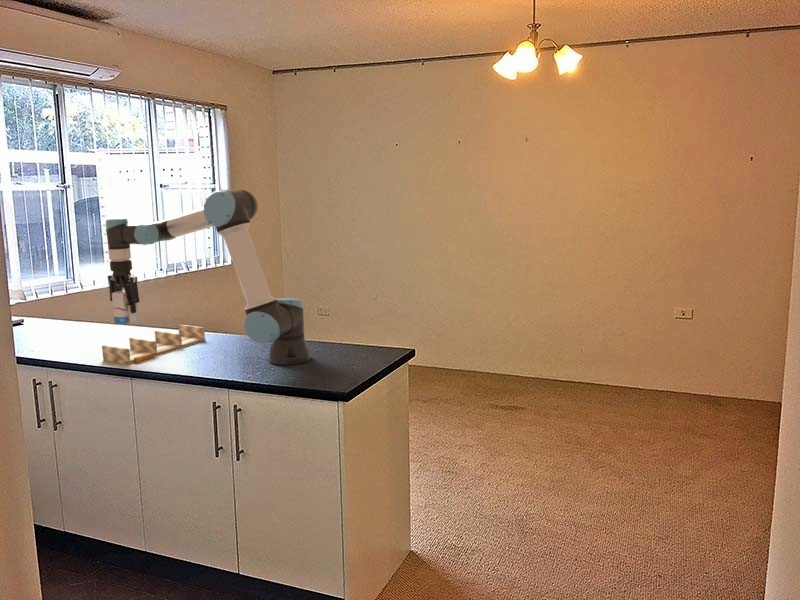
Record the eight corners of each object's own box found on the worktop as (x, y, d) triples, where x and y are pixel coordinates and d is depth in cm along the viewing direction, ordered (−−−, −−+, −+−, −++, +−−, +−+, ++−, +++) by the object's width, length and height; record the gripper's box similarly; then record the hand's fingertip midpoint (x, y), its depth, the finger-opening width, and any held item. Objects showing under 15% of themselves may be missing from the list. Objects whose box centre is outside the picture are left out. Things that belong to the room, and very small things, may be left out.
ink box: (126, 324, 250) (122, 292, 248) (114, 324, 251) (110, 293, 249) (139, 319, 258) (136, 288, 256) (128, 319, 259) (124, 289, 257)
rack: (208, 341, 280) (206, 327, 279) (131, 365, 247) (129, 350, 246) (181, 337, 288) (180, 324, 287) (103, 360, 255) (101, 345, 254)
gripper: (146, 259, 249) (152, 320, 253) (112, 257, 258) (118, 316, 262) (129, 262, 242) (135, 324, 247) (95, 260, 252) (101, 320, 256)
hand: (126, 320), depth 255 cm, fingers closed on ink box, 6 cm apart
